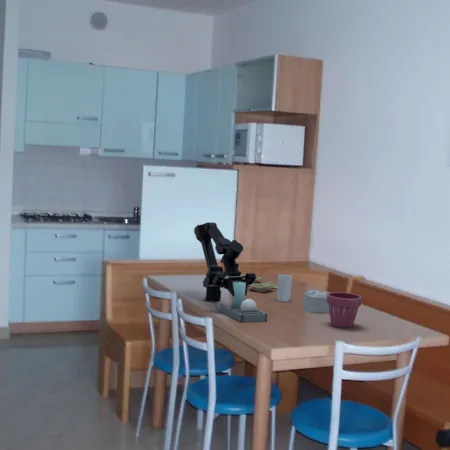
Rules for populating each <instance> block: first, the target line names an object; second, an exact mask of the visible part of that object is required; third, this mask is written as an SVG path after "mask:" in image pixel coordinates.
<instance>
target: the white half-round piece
mask: <svg viewBox="0 0 450 450" xmlns="http://www.w3.org/2000/svg"><path fill="white" fill-rule="evenodd" d="M257 307H258V306H257V303H256V301H255V300H253V299H251V298H246V299H245V300H244V301H243V302H242V303H241V306H240V309H241V311H248V310H256V309H258V308H257Z"/></svg>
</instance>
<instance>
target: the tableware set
mask: <svg viewBox="0 0 450 450" xmlns="http://www.w3.org/2000/svg"><path fill="white" fill-rule="evenodd" d="M245 275H246V273H245V274H241V275H240V276H245ZM261 280H262V277H260V276H256V279H255V281H254V282H253V284H251V285H248V287H251V288H252V289H253V291H254V292H257V293H266V292H268V290H269V289H275V290H277V289H278V282H276V281H268V282H262V283H258V282H259V281H261Z"/></svg>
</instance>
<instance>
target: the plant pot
mask: <svg viewBox="0 0 450 450" xmlns="http://www.w3.org/2000/svg"><path fill="white" fill-rule="evenodd" d="M327 303H328V304H329V313H328V314H329V318H330V325H332V326H333V327H336V326H337V328H343V327H349V328H352V326H354V324H355V320H356V318H357V315H358V314H357V313H358V310H359V308H360V307H361V306H362V296H361V295H359V294H357V293H351V292H341V291H340V292H339V291H335V292H332V291H331V292H328V293H327Z"/></svg>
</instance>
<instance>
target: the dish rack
mask: <svg viewBox="0 0 450 450" xmlns="http://www.w3.org/2000/svg"><path fill="white" fill-rule="evenodd" d="M219 312H221V313H222V314H225V316H228V317H230V318H232V319H234V320H236V321H237V322H240V323H257V322H267V321H268V313H266V312H263V311H262V310H260V309H258V308H256V310H248V311H241V309H231V307H230V306H229V307H228V306H227V305H225V304H223V303H219Z"/></svg>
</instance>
